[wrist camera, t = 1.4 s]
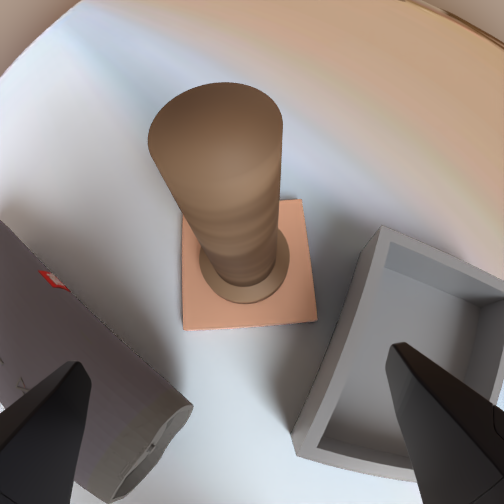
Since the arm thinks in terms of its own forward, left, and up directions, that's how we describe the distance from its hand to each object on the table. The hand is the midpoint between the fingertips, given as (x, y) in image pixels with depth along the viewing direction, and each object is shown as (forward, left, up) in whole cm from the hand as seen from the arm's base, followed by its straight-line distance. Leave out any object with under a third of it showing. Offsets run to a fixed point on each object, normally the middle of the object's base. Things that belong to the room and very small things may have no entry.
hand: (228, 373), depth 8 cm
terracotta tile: (+6, +3, -13) cm, 15 cm away
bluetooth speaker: (-5, +14, -13) cm, 20 cm away
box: (+3, -10, -13) cm, 17 cm away
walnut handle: (+6, +3, -12) cm, 14 cm away
